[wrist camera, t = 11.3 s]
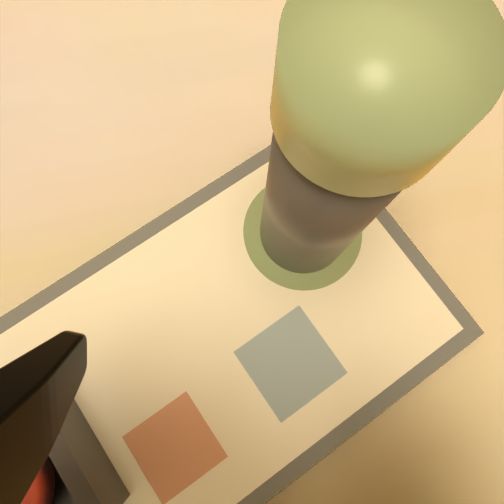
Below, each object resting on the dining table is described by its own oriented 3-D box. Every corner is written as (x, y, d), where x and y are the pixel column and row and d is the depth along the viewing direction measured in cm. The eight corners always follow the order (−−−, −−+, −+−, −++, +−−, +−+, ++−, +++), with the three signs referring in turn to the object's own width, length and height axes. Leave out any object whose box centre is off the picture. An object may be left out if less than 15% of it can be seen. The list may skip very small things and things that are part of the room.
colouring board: (477, 333, 21) (486, 332, 20) (38, 674, 17) (29, 689, 17) (311, 123, 23) (313, 116, 22) (-105, 390, 20) (-119, 391, 19)
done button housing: (130, 494, 18) (109, 520, 15) (-1, 590, 17) (-49, 637, 15) (58, 370, 19) (25, 373, 16) (-69, 456, 19) (-127, 474, 16)
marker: (366, 242, 21) (558, 68, 8) (292, 294, 20) (376, 193, 8) (311, 172, 22) (410, -89, 9) (238, 220, 21) (232, 12, 8)
